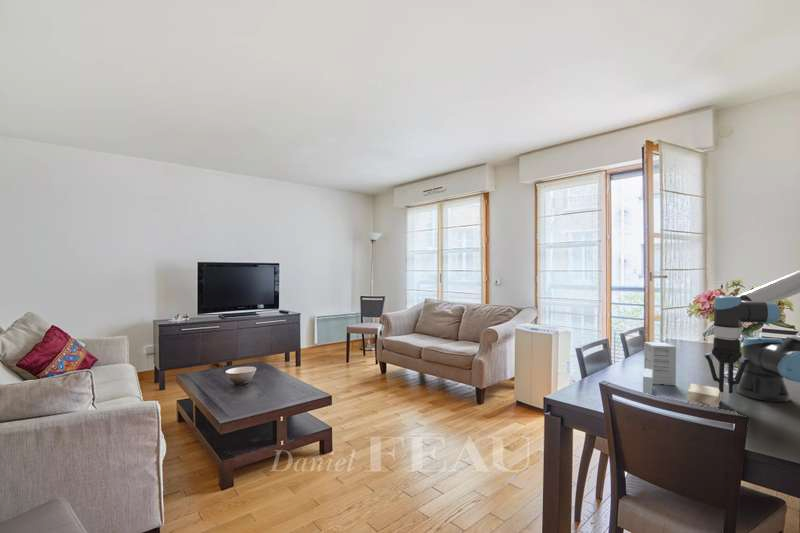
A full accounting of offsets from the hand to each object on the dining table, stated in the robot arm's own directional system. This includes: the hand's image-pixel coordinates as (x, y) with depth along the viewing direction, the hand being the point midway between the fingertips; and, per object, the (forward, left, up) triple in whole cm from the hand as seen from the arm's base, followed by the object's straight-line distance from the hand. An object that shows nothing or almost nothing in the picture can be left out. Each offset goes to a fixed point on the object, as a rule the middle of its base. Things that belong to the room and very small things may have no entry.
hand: (725, 401), depth 144 cm
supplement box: (+20, -20, -2) cm, 29 cm away
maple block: (+6, 0, -2) cm, 6 cm away
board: (+24, -1, -2) cm, 24 cm away
